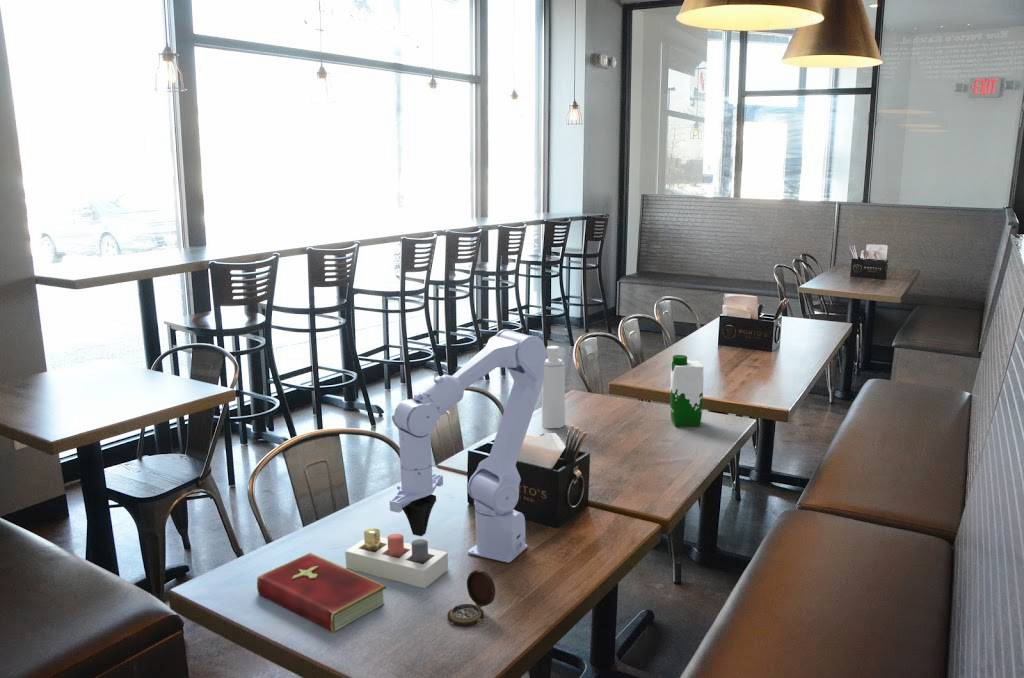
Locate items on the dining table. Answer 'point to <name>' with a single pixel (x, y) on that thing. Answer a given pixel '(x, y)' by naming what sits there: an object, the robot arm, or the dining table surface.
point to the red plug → (395, 545)
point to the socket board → (397, 564)
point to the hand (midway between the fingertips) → (419, 534)
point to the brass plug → (372, 539)
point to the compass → (480, 593)
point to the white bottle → (553, 390)
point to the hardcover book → (321, 591)
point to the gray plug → (420, 551)
